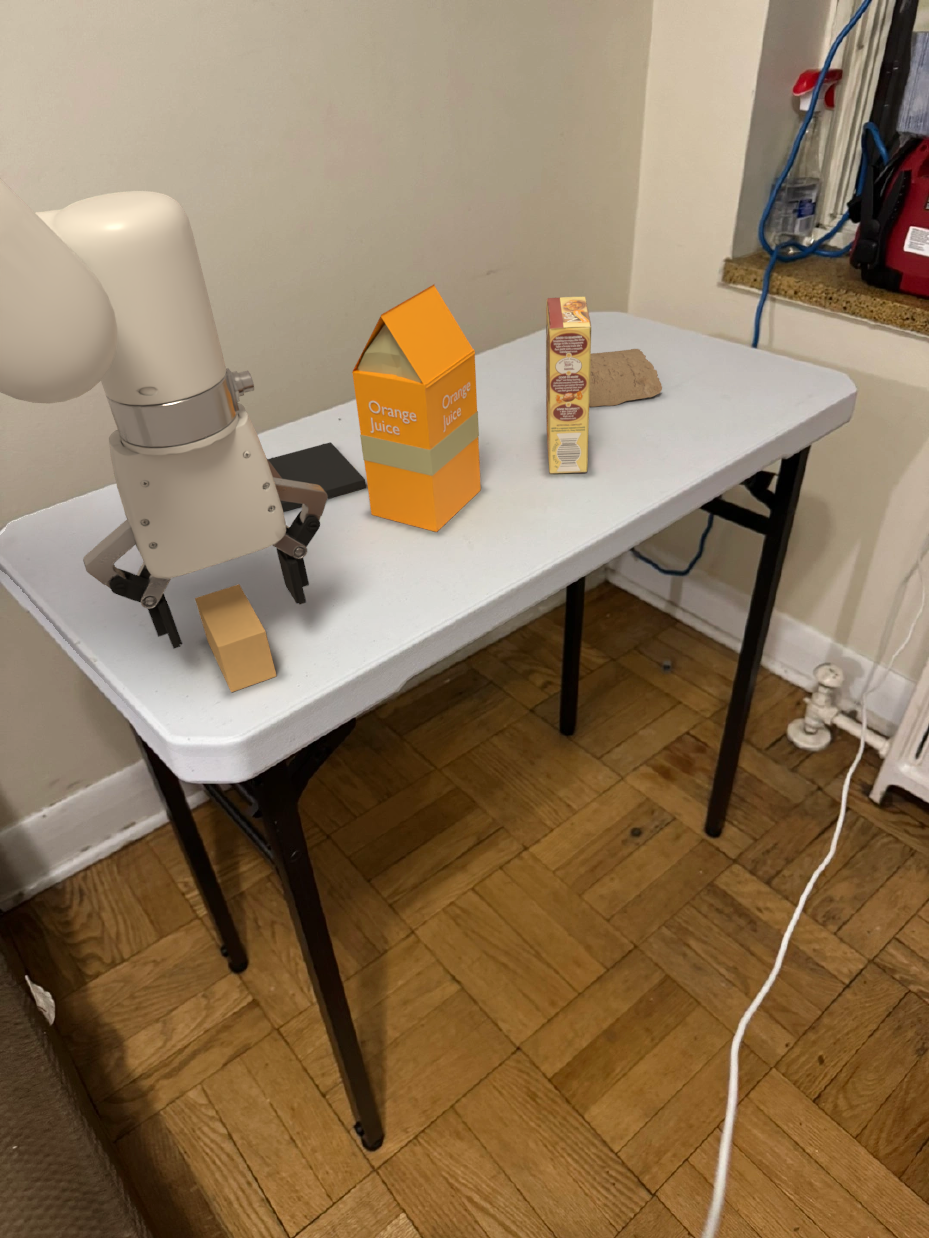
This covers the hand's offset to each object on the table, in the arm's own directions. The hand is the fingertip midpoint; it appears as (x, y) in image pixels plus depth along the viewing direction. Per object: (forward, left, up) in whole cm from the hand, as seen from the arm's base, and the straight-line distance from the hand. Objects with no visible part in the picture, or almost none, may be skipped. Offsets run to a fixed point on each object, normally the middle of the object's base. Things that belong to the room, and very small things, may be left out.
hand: (236, 615), depth 66 cm
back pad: (+8, +25, -4) cm, 27 cm away
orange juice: (+22, +14, -4) cm, 27 cm away
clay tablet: (+54, +29, -4) cm, 62 cm away
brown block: (-1, 0, -4) cm, 4 cm away
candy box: (+39, +15, -4) cm, 42 cm away
